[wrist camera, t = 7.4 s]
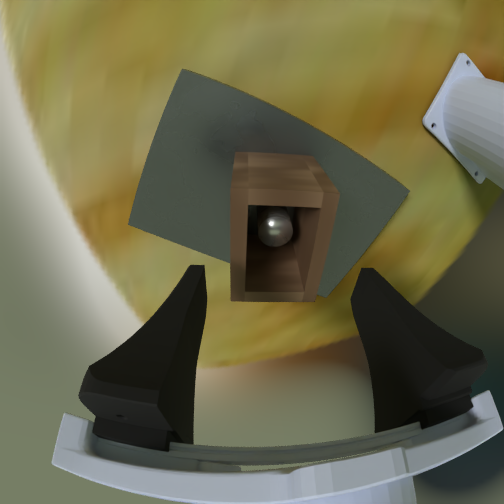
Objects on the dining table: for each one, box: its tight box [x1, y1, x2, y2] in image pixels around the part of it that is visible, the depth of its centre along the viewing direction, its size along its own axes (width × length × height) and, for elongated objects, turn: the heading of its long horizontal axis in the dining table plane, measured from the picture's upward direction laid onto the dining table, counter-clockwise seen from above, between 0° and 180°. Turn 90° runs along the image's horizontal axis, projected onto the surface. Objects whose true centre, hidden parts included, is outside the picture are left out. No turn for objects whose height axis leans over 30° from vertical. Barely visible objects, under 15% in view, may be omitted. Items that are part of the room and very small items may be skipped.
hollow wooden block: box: [230, 152, 340, 302], centre depth 17 cm, size 5×7×6 cm
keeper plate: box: [128, 69, 410, 297], centre depth 18 cm, size 18×12×5 cm, turn 64°
